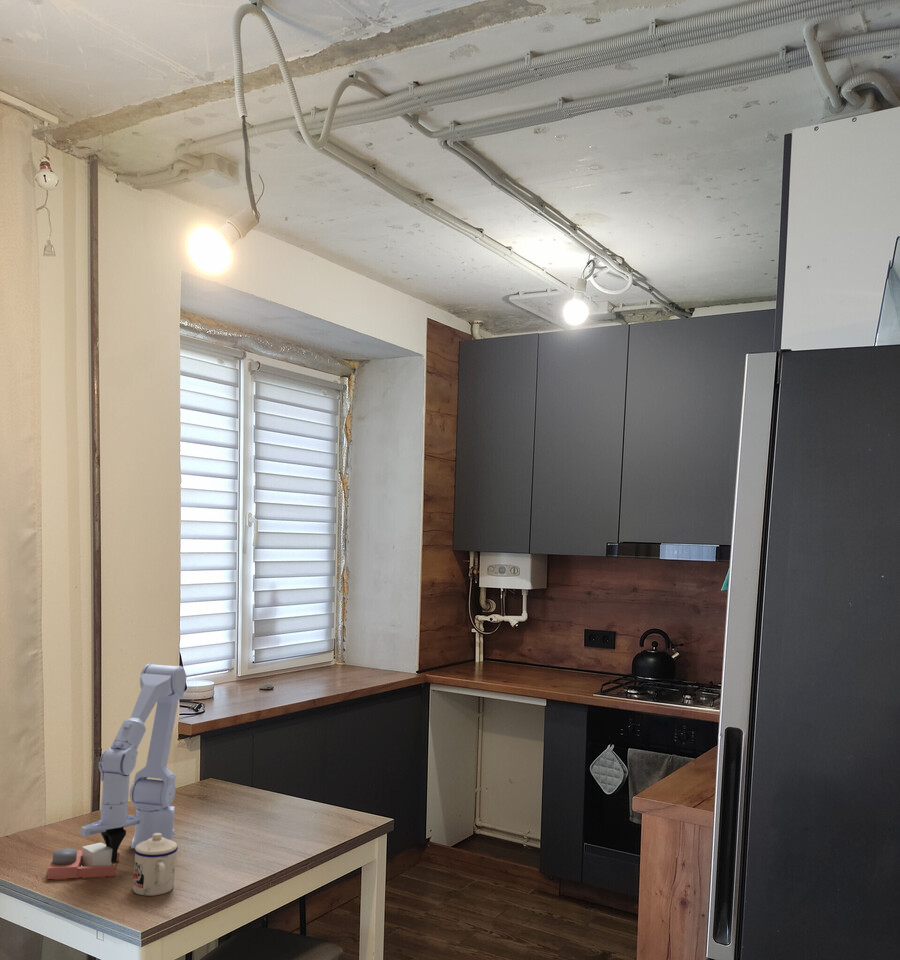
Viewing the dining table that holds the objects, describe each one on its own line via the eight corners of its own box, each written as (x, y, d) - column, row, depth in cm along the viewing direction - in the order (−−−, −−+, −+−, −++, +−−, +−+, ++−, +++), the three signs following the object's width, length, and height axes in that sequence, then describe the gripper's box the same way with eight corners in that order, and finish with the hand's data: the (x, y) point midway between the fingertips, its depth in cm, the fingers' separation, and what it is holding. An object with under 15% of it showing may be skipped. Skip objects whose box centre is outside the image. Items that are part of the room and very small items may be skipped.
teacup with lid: (127, 884, 191) (131, 830, 192) (169, 878, 196) (173, 825, 197) (137, 904, 181) (142, 847, 182) (182, 898, 185) (186, 842, 186)
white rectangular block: (100, 862, 203) (101, 842, 204) (111, 869, 199) (112, 848, 199) (81, 866, 200) (82, 846, 200) (92, 873, 196) (93, 853, 196)
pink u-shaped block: (119, 859, 206) (121, 839, 206) (114, 876, 195) (116, 856, 195) (55, 862, 202) (57, 842, 202) (47, 879, 191) (49, 858, 192)
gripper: (134, 792, 209) (131, 850, 208) (76, 803, 198) (71, 865, 197) (150, 798, 205) (146, 857, 203) (91, 810, 194) (86, 873, 192)
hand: (110, 861), depth 200 cm, fingers closed, pressing on white rectangular block
